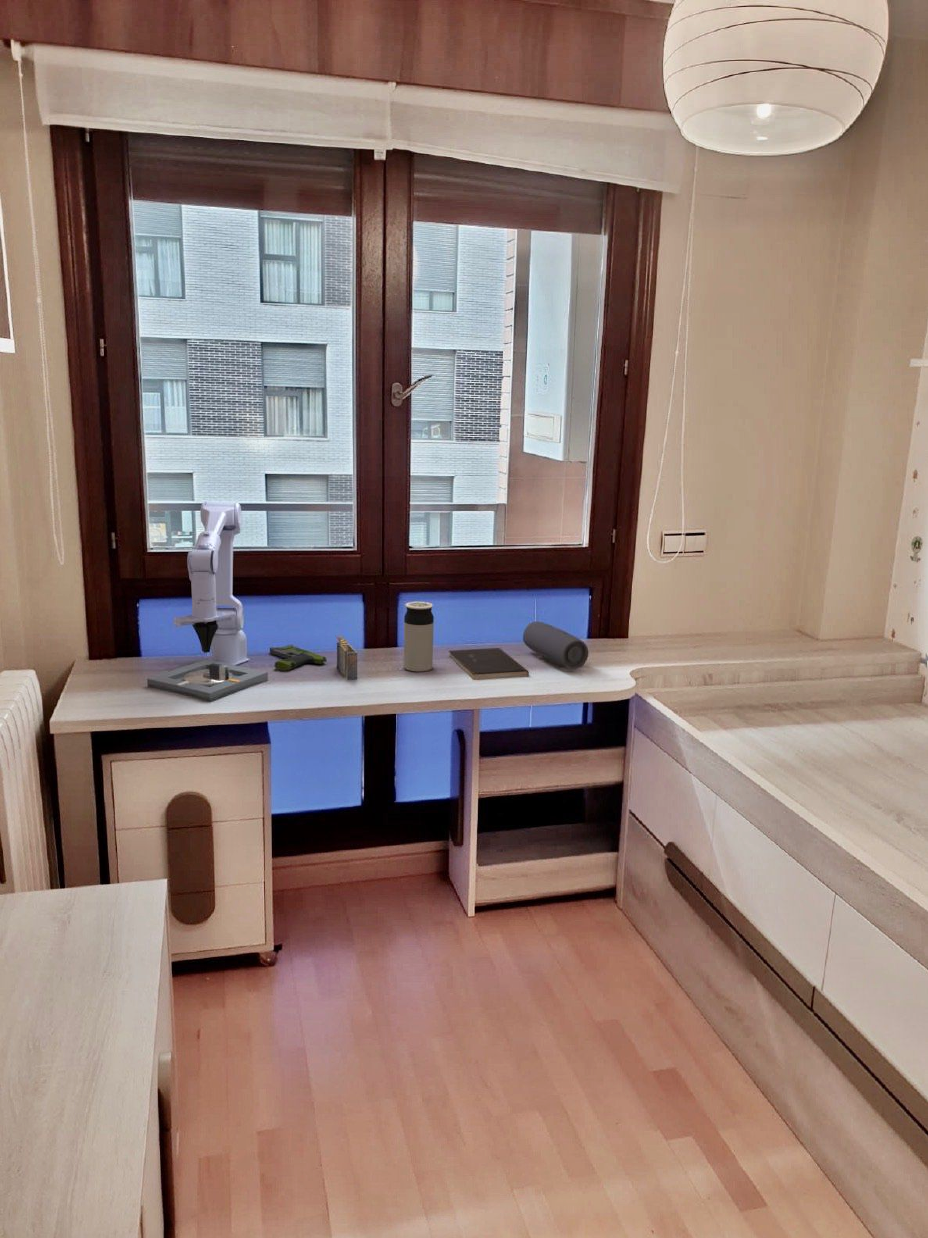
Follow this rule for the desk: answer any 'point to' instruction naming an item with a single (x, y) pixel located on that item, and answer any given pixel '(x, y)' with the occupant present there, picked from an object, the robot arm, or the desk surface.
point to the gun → (294, 657)
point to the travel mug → (418, 636)
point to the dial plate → (177, 685)
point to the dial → (209, 675)
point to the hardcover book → (488, 663)
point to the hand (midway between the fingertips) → (205, 651)
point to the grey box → (346, 659)
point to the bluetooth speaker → (555, 645)
